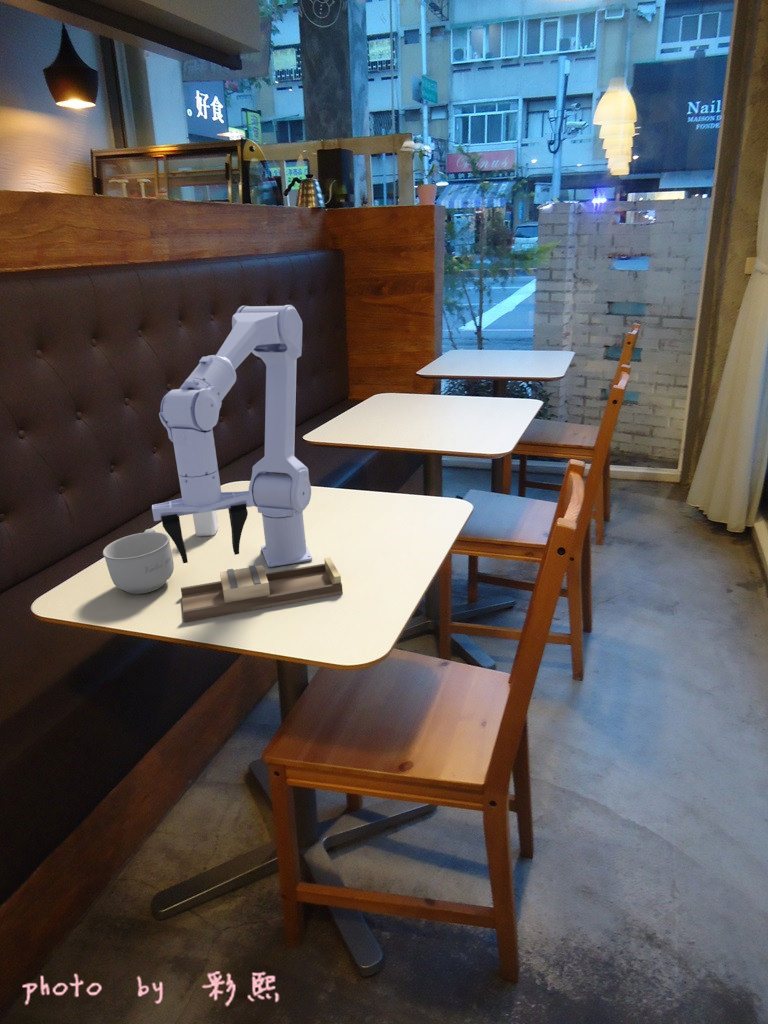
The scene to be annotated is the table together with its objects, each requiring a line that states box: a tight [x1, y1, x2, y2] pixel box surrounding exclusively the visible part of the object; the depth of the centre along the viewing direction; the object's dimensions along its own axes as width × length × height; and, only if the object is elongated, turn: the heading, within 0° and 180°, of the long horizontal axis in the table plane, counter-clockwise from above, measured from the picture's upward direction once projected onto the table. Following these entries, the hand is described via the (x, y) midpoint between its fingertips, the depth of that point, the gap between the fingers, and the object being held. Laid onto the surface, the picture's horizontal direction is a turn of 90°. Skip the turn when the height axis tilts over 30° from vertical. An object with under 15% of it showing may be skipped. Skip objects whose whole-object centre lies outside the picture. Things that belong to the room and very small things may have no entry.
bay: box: [180, 557, 344, 623], centre depth 122 cm, size 9×25×3 cm, turn 106°
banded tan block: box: [219, 564, 270, 603], centre depth 121 cm, size 7×7×3 cm
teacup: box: [102, 528, 175, 595], centre depth 128 cm, size 14×11×8 cm
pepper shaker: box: [192, 510, 220, 537], centre depth 148 cm, size 4×4×10 cm
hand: (210, 556), depth 114 cm, fingers open, 7 cm apart
